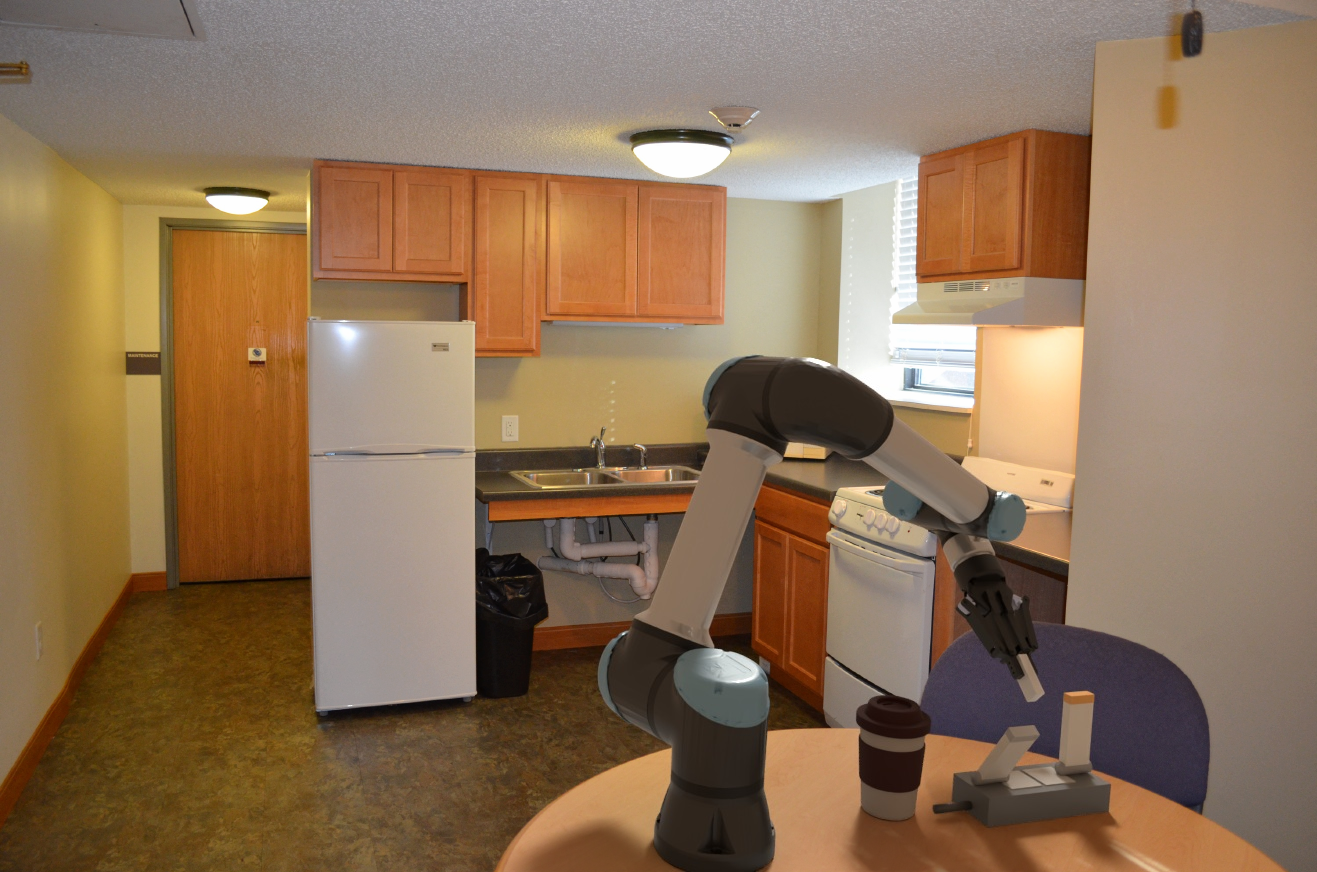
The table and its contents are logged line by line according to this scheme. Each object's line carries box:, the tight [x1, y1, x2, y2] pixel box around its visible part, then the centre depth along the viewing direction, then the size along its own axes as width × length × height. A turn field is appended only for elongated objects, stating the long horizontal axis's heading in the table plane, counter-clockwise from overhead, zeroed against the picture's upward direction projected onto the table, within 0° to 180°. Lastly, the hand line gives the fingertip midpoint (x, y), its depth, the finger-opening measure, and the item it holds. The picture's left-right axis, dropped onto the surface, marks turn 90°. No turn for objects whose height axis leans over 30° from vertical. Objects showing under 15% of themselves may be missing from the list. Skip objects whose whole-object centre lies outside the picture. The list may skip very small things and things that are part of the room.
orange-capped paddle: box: [1055, 690, 1095, 775], centre depth 137 cm, size 5×2×12 cm, turn 108°
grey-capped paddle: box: [971, 724, 1041, 785], centre depth 130 cm, size 5×2×12 cm
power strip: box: [931, 761, 1112, 828], centre depth 135 cm, size 26×8×4 cm, turn 108°
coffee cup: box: [855, 694, 932, 821], centre depth 132 cm, size 10×10×15 cm
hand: (1035, 697), depth 145 cm, fingers closed
